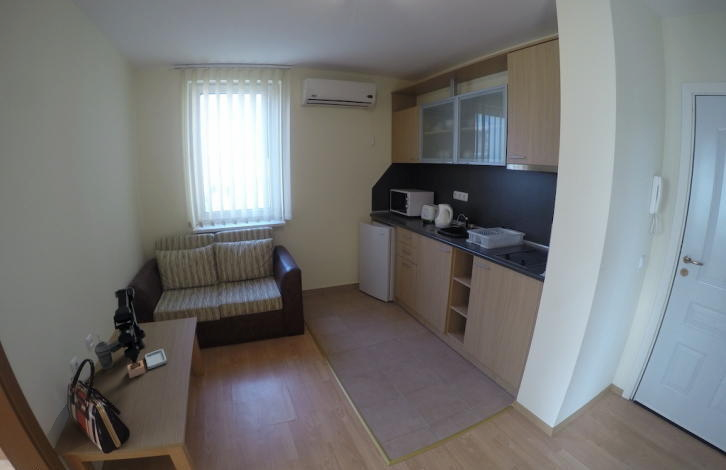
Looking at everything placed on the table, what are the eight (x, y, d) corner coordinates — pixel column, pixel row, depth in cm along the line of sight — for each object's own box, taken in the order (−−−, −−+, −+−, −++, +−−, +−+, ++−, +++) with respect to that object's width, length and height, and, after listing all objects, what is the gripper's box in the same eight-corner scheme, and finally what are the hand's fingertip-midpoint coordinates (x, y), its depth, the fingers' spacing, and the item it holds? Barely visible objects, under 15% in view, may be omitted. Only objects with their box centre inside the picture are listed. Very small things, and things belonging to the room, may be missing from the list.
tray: (145, 357, 182) (144, 354, 181) (163, 350, 188) (162, 348, 187) (148, 369, 172) (147, 367, 171) (167, 362, 177) (166, 359, 177)
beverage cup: (107, 372, 170) (98, 340, 165) (96, 370, 172) (87, 338, 166) (119, 363, 177) (111, 332, 172) (109, 361, 179) (100, 331, 173)
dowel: (133, 371, 170) (129, 356, 168) (140, 369, 172) (136, 353, 169) (133, 374, 168) (130, 358, 165) (140, 372, 170) (136, 356, 167)
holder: (128, 371, 170) (127, 365, 169) (143, 366, 175) (142, 360, 174) (129, 378, 165) (128, 371, 164) (145, 372, 170) (143, 366, 169)
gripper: (107, 331, 165) (114, 356, 170) (108, 348, 152) (116, 374, 156) (132, 323, 172) (138, 348, 177) (136, 339, 159) (142, 365, 163)
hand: (133, 358), depth 168 cm, fingers open, 9 cm apart
